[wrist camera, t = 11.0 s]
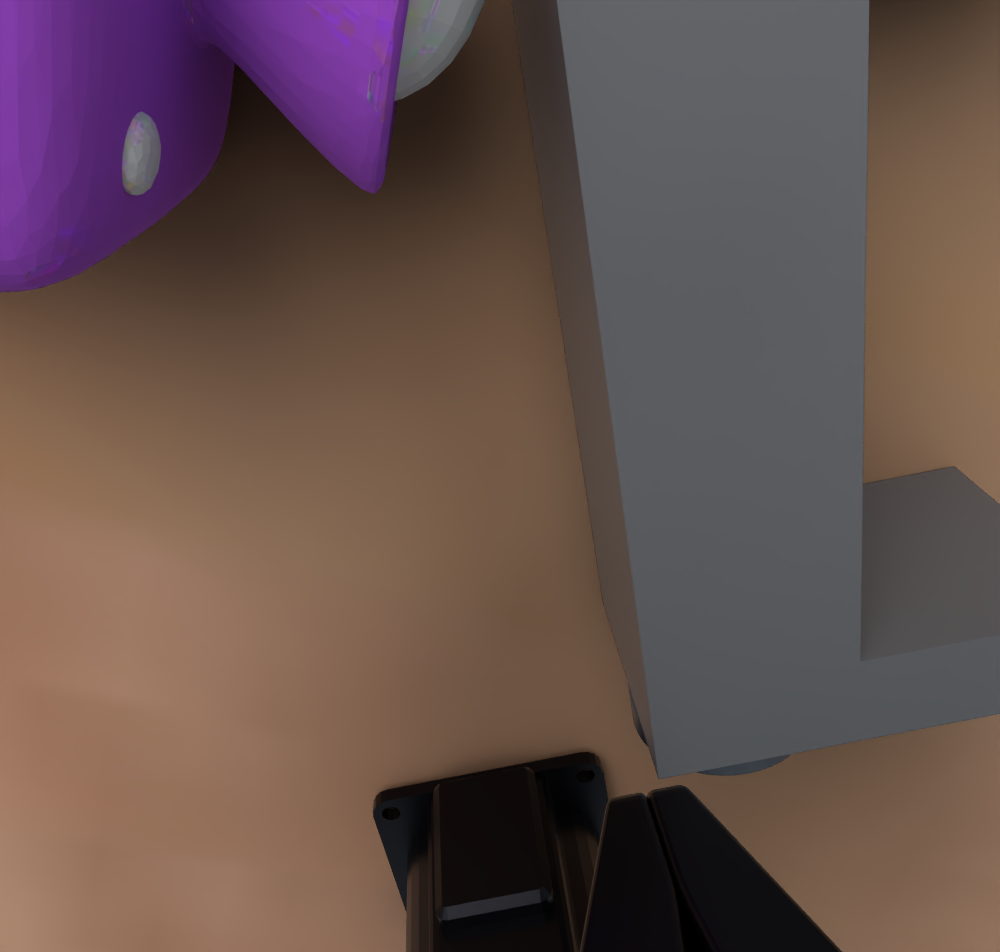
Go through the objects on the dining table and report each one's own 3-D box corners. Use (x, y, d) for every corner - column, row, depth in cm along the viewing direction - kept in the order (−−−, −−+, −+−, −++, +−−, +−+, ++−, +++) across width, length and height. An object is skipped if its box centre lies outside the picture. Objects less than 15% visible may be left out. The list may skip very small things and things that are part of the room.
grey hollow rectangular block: (947, 573, 23) (1103, 737, 18) (608, 638, 23) (663, 821, 18) (1002, -244, 15) (1308, -382, 10) (490, -140, 16) (527, -222, 10)
